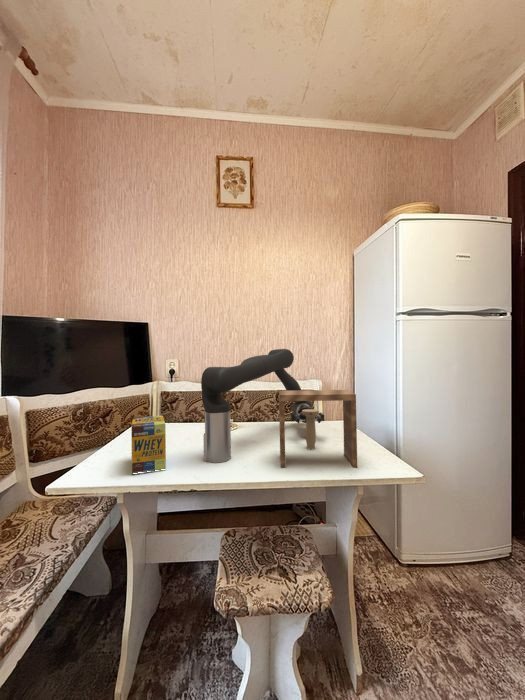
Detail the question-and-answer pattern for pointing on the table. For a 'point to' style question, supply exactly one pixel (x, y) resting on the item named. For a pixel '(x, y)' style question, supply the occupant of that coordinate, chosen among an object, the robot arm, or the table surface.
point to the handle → (310, 427)
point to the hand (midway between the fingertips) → (309, 420)
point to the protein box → (148, 444)
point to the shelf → (324, 395)
